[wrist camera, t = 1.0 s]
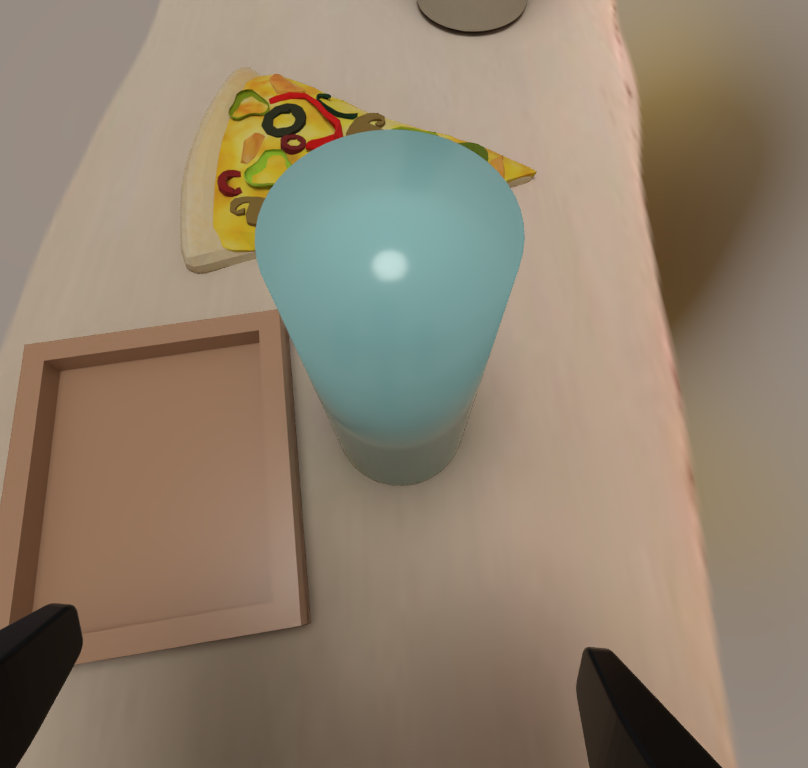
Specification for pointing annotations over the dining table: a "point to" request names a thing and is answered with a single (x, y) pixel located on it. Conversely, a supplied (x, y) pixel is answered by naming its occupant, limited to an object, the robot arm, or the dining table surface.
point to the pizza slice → (268, 159)
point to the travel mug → (472, 13)
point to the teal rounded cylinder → (392, 288)
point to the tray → (157, 486)
